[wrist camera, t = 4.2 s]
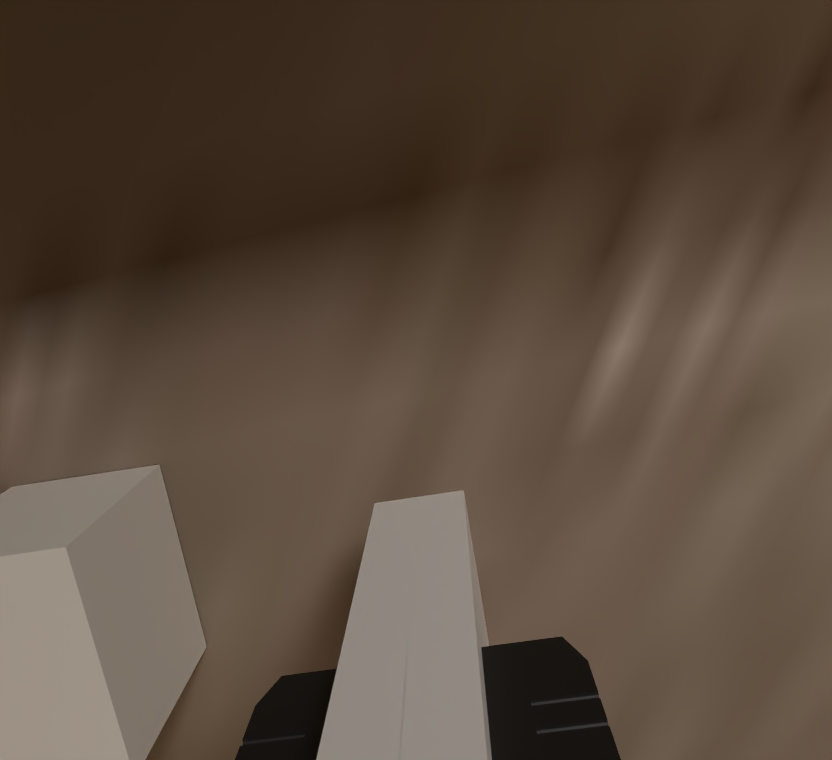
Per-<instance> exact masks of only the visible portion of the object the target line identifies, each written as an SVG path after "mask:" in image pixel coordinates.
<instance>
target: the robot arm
mask: <svg viewBox="0 0 832 760" xmlns="http://www.w3.org/2000/svg"><path fill="white" fill-rule="evenodd" d="M235 760H621V759H620V756H619V753H618V750H617V747H616V744H615V741H614V738H613V735H612V732H611V729H610V727H609V726H608V721H607V717H606V714H605V711H604V708H603V705H602V702H601V699H599V694H598V690H597V687H596V684H595V681H594V678H593V675H592V672H591V669H590V666H589V663H588V660H587V659H585V658H584V657H583V656H582V655H581V654H580V653H579V652H578V651H577V650H576V649H575V648H574V647H573V646H571V645H570V644H569V643H568V642H567V641H566V640H565V639H564V638H563V637H555V638H547V639H540V640H532V641H524V642H517V643H509V644H501V645H494V646H489V644H488V635H487V629H486V623H485V617H484V611H483V605H482V599H481V593H480V587H479V580H478V574H477V568H476V562H475V556H474V550H473V544H472V538H471V532H470V526H469V519H468V513H467V507H466V501H465V495H464V490H462V491H455V492H448V493H441V494H434V495H427V496H420V497H414V498H407V499H400V500H393V501H386V502H379V503H375V504H374V508H373V512H372V517H371V521H370V526H369V530H368V534H367V539H366V543H365V548H364V552H363V556H362V561H361V565H360V569H359V574H358V578H357V583H356V587H355V591H354V596H353V600H352V605H351V609H350V613H349V618H348V622H347V627H346V631H345V635H344V640H343V644H342V649H341V653H340V657H339V662H338V666H337V669H332V670H324V671H317V672H309V673H301V674H293V675H286V676H281V678H280V679H279V680H278V681H277V682H276V683H275V684H274V685H273V687H272V688H271V689H270V690H269V691H268V692H267V693H266V694H265V696H264V697H263V698H262V699H261V700H260V701H259V702H258V703H257V705H256V706H255V708H254V711H253V713H252V716H251V719H250V721H249V724H248V727H247V729H246V732H245V735H244V737H243V746H240V748H239V750H238V753H237V756H236V758H235Z"/></svg>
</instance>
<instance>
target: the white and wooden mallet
mask: <svg viewBox="0 0 832 760" xmlns="http://www.w3.org/2000/svg"><path fill="white" fill-rule="evenodd" d="M206 647H207V646H206V642H205V638H204V634H203V631H202V627H201V623H200V619H199V615H198V611H197V607H196V604H195V600H194V596H193V592H192V588H191V584H190V580H189V577H188V573H187V569H186V565H185V561H184V557H183V554H182V550H181V546H180V542H179V538H178V534H177V530H176V527H175V523H174V519H173V515H172V511H171V507H170V503H169V500H168V496H167V492H166V488H165V484H164V480H163V476H162V473H161V469H160V465H153V466H146V467H139V468H133V469H126V470H119V471H113V472H106V473H100V474H93V475H86V476H80V477H73V478H66V479H60V480H53V481H46V482H40V483H33V484H26V485H20V486H13V487H11V488H9V489H8V490H6V491H5V492H3V493H1V494H0V760H145V759H146V758H147V756H148V754H149V752H150V750H151V748H152V747H153V745H154V743H155V741H156V739H157V737H158V736H159V734H160V732H161V730H162V728H163V726H164V724H165V723H166V721H167V719H168V717H169V715H170V713H171V712H172V710H173V708H174V706H175V704H176V702H177V701H178V699H179V697H180V695H181V693H182V691H183V689H184V688H185V686H186V684H187V682H188V680H189V678H190V677H191V675H192V673H193V671H194V669H195V667H196V666H197V664H198V662H199V660H200V658H201V656H202V655H203V653H204V651H205V649H206Z"/></svg>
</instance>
